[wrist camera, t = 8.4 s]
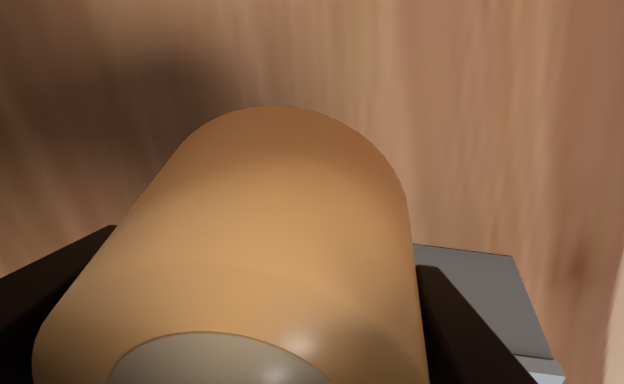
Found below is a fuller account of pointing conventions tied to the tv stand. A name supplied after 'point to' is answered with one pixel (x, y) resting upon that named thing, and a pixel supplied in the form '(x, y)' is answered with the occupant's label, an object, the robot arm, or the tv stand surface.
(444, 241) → the tv stand surface
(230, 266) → the tan cylinder grey end
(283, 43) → the tv stand surface
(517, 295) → the box
